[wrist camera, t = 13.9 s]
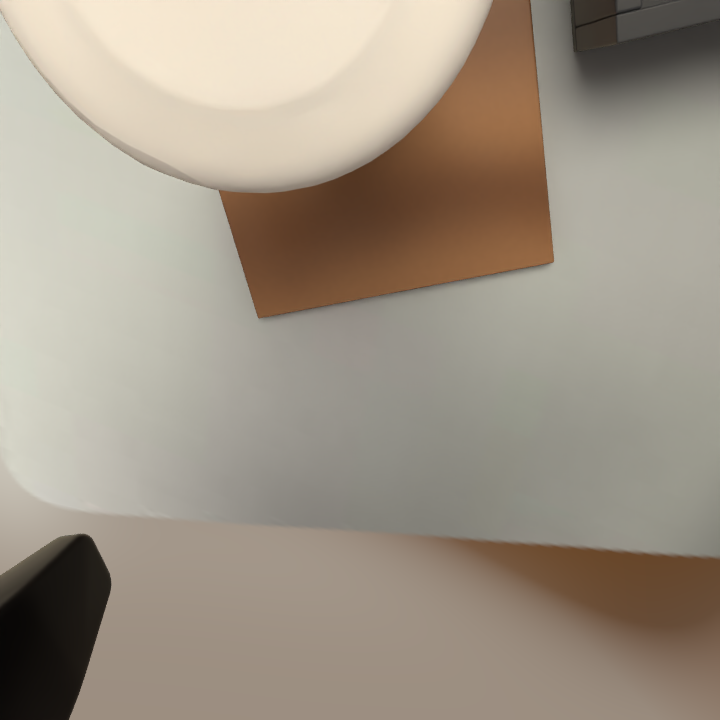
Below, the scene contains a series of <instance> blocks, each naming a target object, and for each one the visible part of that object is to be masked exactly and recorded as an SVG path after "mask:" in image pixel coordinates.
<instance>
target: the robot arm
mask: <svg viewBox="0 0 720 720" xmlns="http://www.w3.org/2000/svg"><path fill="white" fill-rule="evenodd" d="M110 590H111V578H110V573H109V571H108V569H107V567H106V565H105V563H104V561H103V559H102V557H101V555H100V553H99V551H98V549H97V547H96V545H95V543H94V541H93V539H92V538H91V537H90V536H88V535H86V534H76V535H68V536H62V537H59V538H57V539H55V540H53V541H52V542H50V543H49V544H47V545H46V546H44V547H43V548H41V549H40V550H38V551H37V552H35V553H34V554H32V555H31V556H29V557H28V558H26V559H25V560H23V561H22V562H21V563H19V564H17V565H16V566H14V567H13V568H11V569H10V570H8V571H7V572H5V573H3V574H2V575H0V720H69V718H70V715H71V713H72V710H73V708H74V705H75V703H76V700H77V697H78V695H79V692H80V689H81V686H82V683H83V680H84V677H85V674H86V670H87V667H88V664H89V661H90V657H91V654H92V651H93V647H94V644H95V641H96V637H97V634H98V631H99V627H100V624H101V621H102V618H103V614H104V611H105V608H106V604H107V601H108V598H109V595H110Z"/></svg>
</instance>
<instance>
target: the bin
mask: <svg viewBox="0 0 720 720" xmlns="http://www.w3.org/2000/svg"><path fill="white" fill-rule="evenodd" d="M571 13H572V28H573V43H574V52H578V51H583V50H589V49H594V48H599V47H605V46H610V45H616V44H621V43H625V42H629V41H633V40H637V39H641V38H646V37H650V36H654V35H658V34H662V33H666V32H671V31H675V30H679V29H683V28H687V27H692V26H696V25H700V24H704V23H708V22H712V21H717V20H720V0H571Z"/></svg>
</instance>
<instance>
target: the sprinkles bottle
mask: <svg viewBox="0 0 720 720" xmlns="http://www.w3.org/2000/svg"><path fill="white" fill-rule="evenodd" d="M492 2H493V0H0V11H1V13H2V15H3V17H4V19H5V21H6V22H7V24H8V26H9V27H10V29H11V31H12V33H13V34H14V36H15V38H16V39H17V41H18V42H19V44H20V46H21V47H22V49H23V50H24V52H25V53H26V55H27V56H28V58H29V60H30V61H31V62H32V64H33V65H34V67H35V68H36V69H37V70H38V72H39V73H40V74H41V75H42V77H43V78H44V79H45V81H46V82H47V83H48V84H49V86H50V87H51V88H52V89H53V91H54V92H55V93H56V94H57V95H58V96H59V97H60V98H61V99H62V100H63V102H64V103H65V104H66V105H67V106H68V107H69V108H70V109H71V110H72V111H73V112H74V113H75V114H76V115H77V116H78V117H79V118H80V119H81V120H83V121H84V122H85V123H86V124H87V125H89V126H90V127H91V128H92V129H94V130H95V131H96V132H97V133H98V134H100V135H101V136H102V137H103V138H105V139H106V140H107V141H108V142H110V143H111V144H112V145H113V146H115V147H117V148H118V149H120V150H121V151H123V152H124V153H126V154H128V155H129V156H131V157H132V158H134V159H135V160H137V161H139V162H140V163H142V164H144V165H146V166H148V167H150V168H152V169H154V170H157V171H159V172H162V173H164V174H167V175H170V176H172V177H175V178H178V179H181V180H183V181H186V182H189V183H192V184H196V185H200V186H204V187H208V188H211V189H216V190H223V191H230V192H246V193H274V192H285V191H290V190H295V189H300V188H306V187H311V186H315V185H318V184H321V183H324V182H328V181H331V180H334V179H336V178H338V177H341V176H343V175H345V174H347V173H350V172H352V171H354V170H356V169H358V168H360V167H362V166H363V165H365V164H367V163H369V162H371V161H372V160H374V159H375V158H377V157H378V156H380V155H381V154H383V153H384V152H386V151H387V150H389V149H390V148H391V147H393V146H394V145H395V144H396V143H398V142H399V141H400V140H402V139H403V138H404V137H405V136H406V135H407V134H408V133H409V132H410V131H411V130H412V129H413V128H414V127H415V126H416V125H417V124H419V123H420V122H421V121H422V120H423V119H424V118H425V116H426V115H427V114H428V113H429V112H430V111H431V110H432V109H433V107H434V106H435V105H436V104H437V103H438V102H439V100H440V99H441V98H442V96H443V95H444V94H445V92H446V91H447V90H448V88H449V87H450V86H451V84H452V83H453V81H454V80H455V78H456V77H457V75H458V73H459V72H460V70H461V69H462V67H463V65H464V63H465V62H466V60H467V58H468V56H469V54H470V52H471V50H472V49H473V47H474V45H475V43H476V41H477V38H478V36H479V34H480V32H481V29H482V27H483V25H484V22H485V20H486V18H487V16H488V13H489V11H490V8H491V5H492Z"/></svg>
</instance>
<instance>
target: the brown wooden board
mask: <svg viewBox="0 0 720 720" xmlns="http://www.w3.org/2000/svg"><path fill="white" fill-rule="evenodd" d="M219 193H220V196H221V199H222V202H223V206H224V209H225V212H226V215H227V219H228V222H229V225H230V228H231V232H232V235H233V238H234V241H235V245H236V248H237V251H238V254H239V258H240V261H241V264H242V267H243V271H244V274H245V277H246V280H247V283H248V287H249V290H250V293H251V296H252V300H253V303H254V306H255V309H256V313H257V316H258V318H263V317H269V316H274V315H279V314H284V313H290V312H295V311H300V310H305V309H311V308H316V307H321V306H326V305H332V304H337V303H342V302H348V301H353V300H358V299H363V298H369V297H374V296H379V295H384V294H390V293H395V292H400V291H405V290H411V289H416V288H421V287H426V286H432V285H437V284H442V283H448V282H453V281H458V280H463V279H469V278H474V277H479V276H484V275H490V274H495V273H500V272H505V271H511V270H516V269H521V268H527V267H532V266H537V265H542V264H548V263H552V262H554V255H553V244H552V233H551V223H550V212H549V201H548V190H547V179H546V168H545V157H544V146H543V135H542V124H541V113H540V102H539V91H538V80H537V69H536V58H535V47H534V36H533V25H532V14H531V3H530V0H493V2H492V5H491V8H490V11H489V13H488V16H487V18H486V20H485V22H484V25H483V27H482V29H481V32H480V34H479V36H478V38H477V41H476V43H475V45H474V47H473V49H472V50H471V52H470V54H469V56H468V58H467V60H466V62H465V63H464V65H463V67H462V69H461V70H460V72H459V73H458V75H457V77H456V78H455V80H454V81H453V83H452V84H451V86H450V87H449V88H448V90H447V91H446V92H445V94H444V95H443V96H442V98H441V99H440V100H439V102H438V103H437V104H436V105H435V106H434V107H433V109H432V110H431V111H430V112H429V113H428V114H427V115H426V116H425V118H424V119H423V120H422V121H421V122H420V123H419V124H417V125H416V126H415V127H414V128H413V129H412V130H411V131H410V132H409V133H408V134H407V135H406V136H405V137H404V138H403V139H402V140H400V141H399V142H398V143H396V144H395V145H394V146H393V147H391V148H390V149H389V150H387V151H386V152H384V153H383V154H381V155H380V156H378V157H377V158H375V159H374V160H372V161H371V162H369V163H367V164H365V165H363V166H362V167H360V168H358V169H356V170H354V171H352V172H350V173H347V174H345V175H343V176H341V177H338V178H336V179H334V180H331V181H328V182H324V183H321V184H318V185H315V186H311V187H306V188H300V189H295V190H290V191H285V192H274V193H246V192H230V191H223V190H219Z"/></svg>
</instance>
